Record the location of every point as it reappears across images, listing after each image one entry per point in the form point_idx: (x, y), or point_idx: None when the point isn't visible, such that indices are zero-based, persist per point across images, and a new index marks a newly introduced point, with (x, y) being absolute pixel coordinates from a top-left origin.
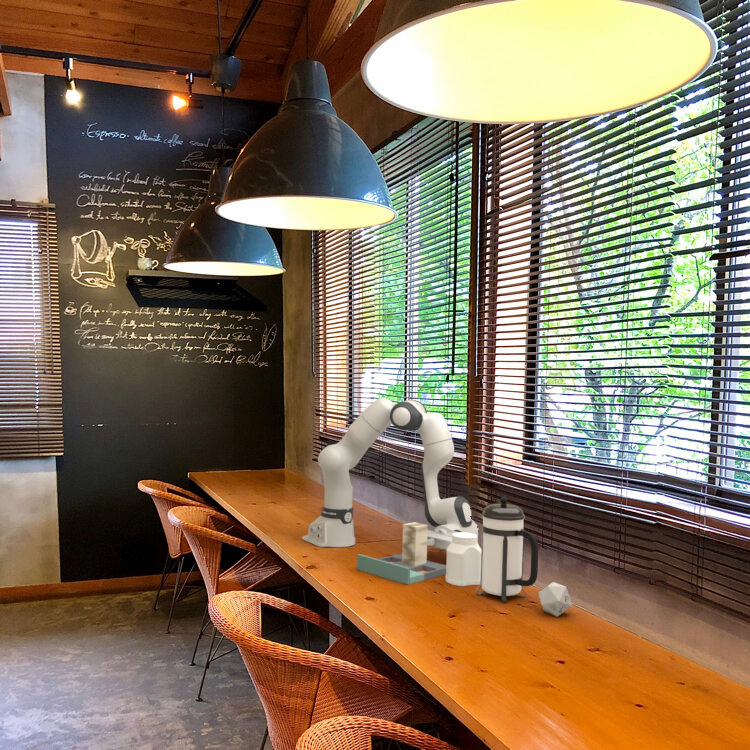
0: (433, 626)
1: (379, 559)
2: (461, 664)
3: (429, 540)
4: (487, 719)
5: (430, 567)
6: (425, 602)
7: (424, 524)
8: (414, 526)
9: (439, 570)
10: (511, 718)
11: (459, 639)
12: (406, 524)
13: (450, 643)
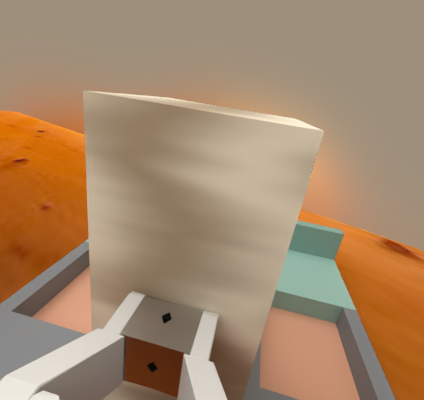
0: (54, 149)
1: (349, 325)
2: (29, 128)
3: (64, 351)
4: (23, 115)
5: (58, 327)
6: (69, 179)
7: (135, 98)
8: (189, 101)
9: (1, 305)
10: (5, 114)
11: (22, 140)
12: (276, 116)
13: (35, 138)
